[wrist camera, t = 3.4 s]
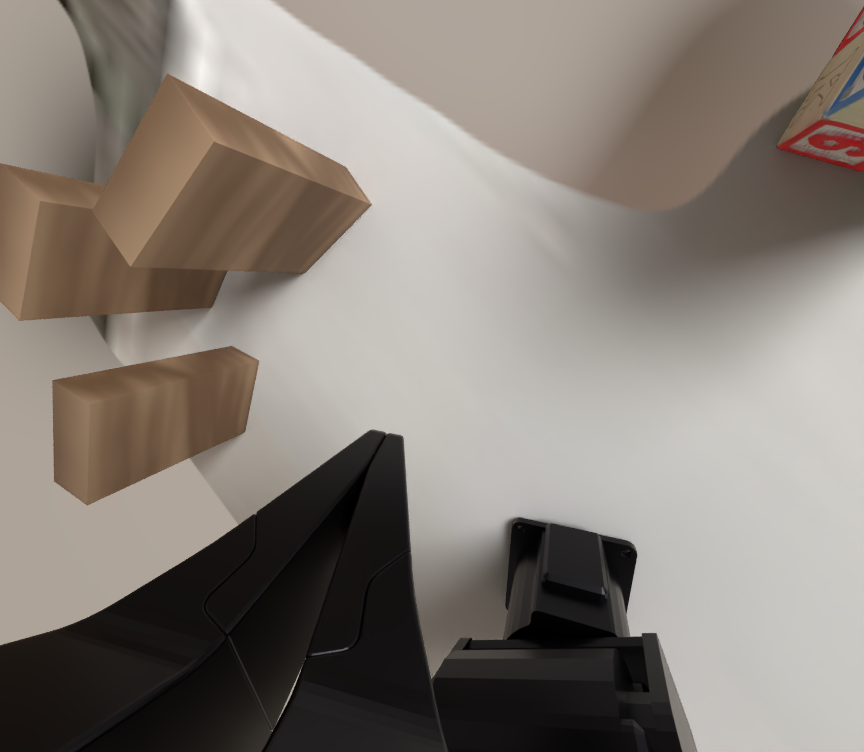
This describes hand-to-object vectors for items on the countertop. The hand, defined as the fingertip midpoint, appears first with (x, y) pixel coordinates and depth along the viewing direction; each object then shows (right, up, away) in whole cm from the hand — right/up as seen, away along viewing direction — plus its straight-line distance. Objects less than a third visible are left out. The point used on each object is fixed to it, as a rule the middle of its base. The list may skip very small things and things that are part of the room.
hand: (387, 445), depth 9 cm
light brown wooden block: (-14, +10, +16) cm, 23 cm away
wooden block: (-5, +11, +12) cm, 17 cm away
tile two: (-13, +1, +18) cm, 22 cm away
